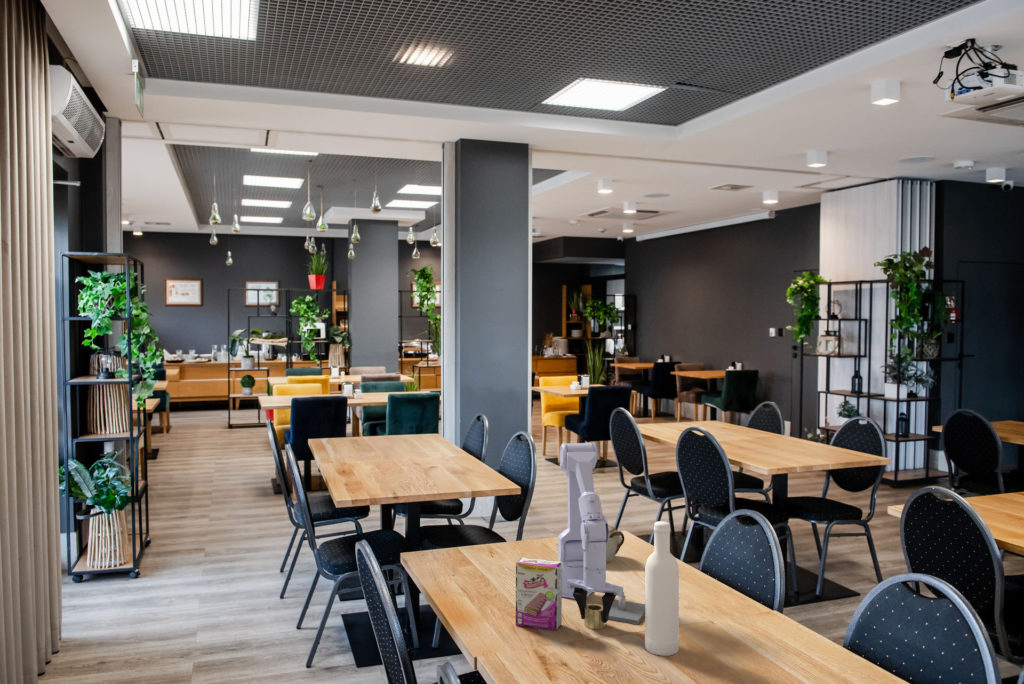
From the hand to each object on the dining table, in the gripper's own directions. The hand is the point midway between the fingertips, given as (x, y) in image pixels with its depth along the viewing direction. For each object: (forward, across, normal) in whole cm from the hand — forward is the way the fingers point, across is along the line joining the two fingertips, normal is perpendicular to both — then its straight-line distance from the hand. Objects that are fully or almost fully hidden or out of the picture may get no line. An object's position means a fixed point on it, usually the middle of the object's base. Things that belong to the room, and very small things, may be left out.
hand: (594, 619), depth 191 cm
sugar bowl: (+2, -16, +52) cm, 54 cm away
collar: (+1, 0, 0) cm, 1 cm away
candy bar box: (+2, -13, -6) cm, 14 cm away
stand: (+1, +4, +11) cm, 12 cm away
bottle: (+2, +19, -7) cm, 20 cm away
